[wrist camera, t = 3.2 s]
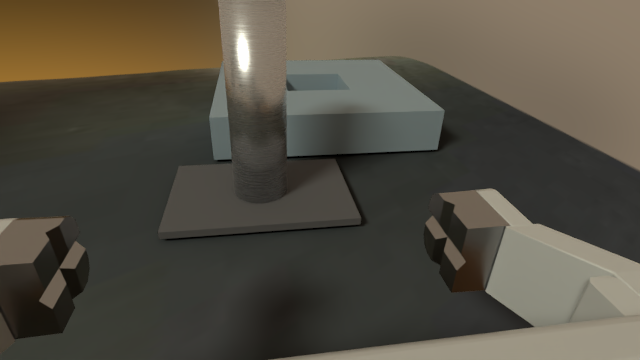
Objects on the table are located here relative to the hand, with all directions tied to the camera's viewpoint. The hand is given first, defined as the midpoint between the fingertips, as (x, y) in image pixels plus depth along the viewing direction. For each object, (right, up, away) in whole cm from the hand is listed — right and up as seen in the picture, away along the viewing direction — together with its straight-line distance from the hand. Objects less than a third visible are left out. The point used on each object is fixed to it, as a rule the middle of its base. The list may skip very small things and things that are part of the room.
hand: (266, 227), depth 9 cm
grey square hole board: (+1, +7, +25) cm, 26 cm away
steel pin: (-2, +1, +13) cm, 14 cm away
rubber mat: (-2, 0, +14) cm, 14 cm away
